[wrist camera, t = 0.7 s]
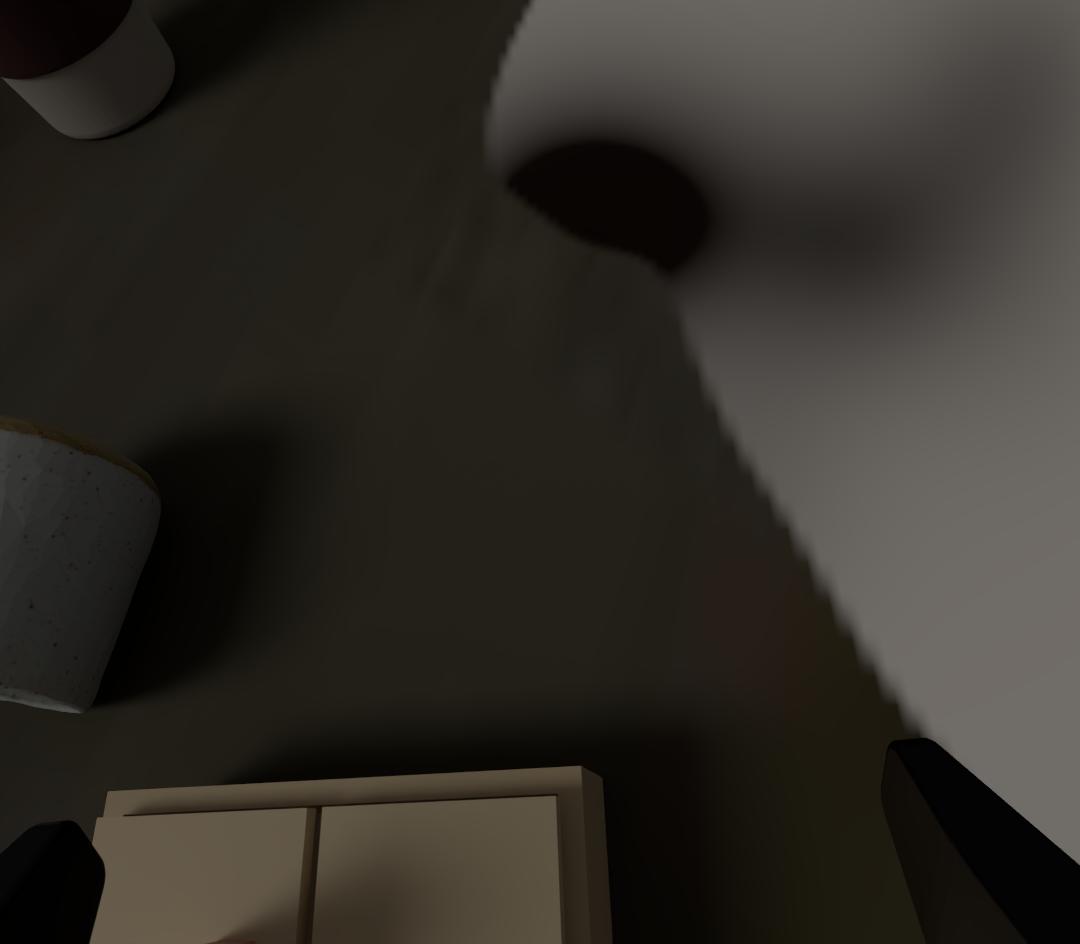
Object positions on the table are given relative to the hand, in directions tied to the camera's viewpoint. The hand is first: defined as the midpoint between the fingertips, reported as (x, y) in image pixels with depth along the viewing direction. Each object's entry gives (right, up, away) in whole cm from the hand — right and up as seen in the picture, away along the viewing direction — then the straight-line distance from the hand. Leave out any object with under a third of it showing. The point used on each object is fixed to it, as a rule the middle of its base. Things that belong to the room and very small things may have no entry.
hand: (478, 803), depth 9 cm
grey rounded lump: (-17, -1, +21) cm, 27 cm away
